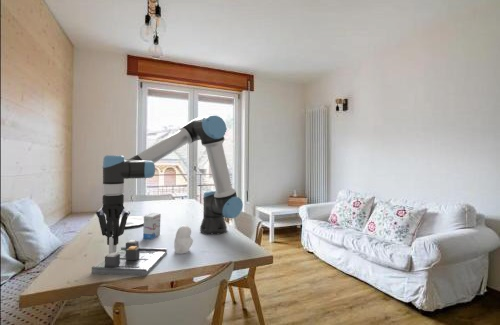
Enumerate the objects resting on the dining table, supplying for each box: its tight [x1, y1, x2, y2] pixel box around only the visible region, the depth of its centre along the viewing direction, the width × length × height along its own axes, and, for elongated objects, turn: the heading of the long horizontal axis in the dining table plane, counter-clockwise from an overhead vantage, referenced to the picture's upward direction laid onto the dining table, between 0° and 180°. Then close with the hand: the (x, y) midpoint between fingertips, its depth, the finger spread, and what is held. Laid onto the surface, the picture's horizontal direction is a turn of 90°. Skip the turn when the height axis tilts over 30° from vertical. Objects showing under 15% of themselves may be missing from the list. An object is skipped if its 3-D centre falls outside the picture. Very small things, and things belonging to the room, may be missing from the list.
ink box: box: [142, 212, 162, 240], centre depth 139 cm, size 9×5×12 cm, turn 168°
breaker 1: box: [104, 252, 120, 267], centre depth 98 cm, size 4×3×5 cm
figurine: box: [173, 224, 194, 255], centre depth 119 cm, size 7×8×12 cm
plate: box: [106, 215, 144, 229], centre depth 164 cm, size 25×25×2 cm
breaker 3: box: [126, 246, 140, 260], centre depth 106 cm, size 4×3×5 cm
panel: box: [91, 246, 168, 277], centre depth 106 cm, size 20×21×2 cm
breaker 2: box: [125, 239, 139, 249], centre depth 113 cm, size 4×3×5 cm
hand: (112, 252), depth 106 cm, fingers closed
